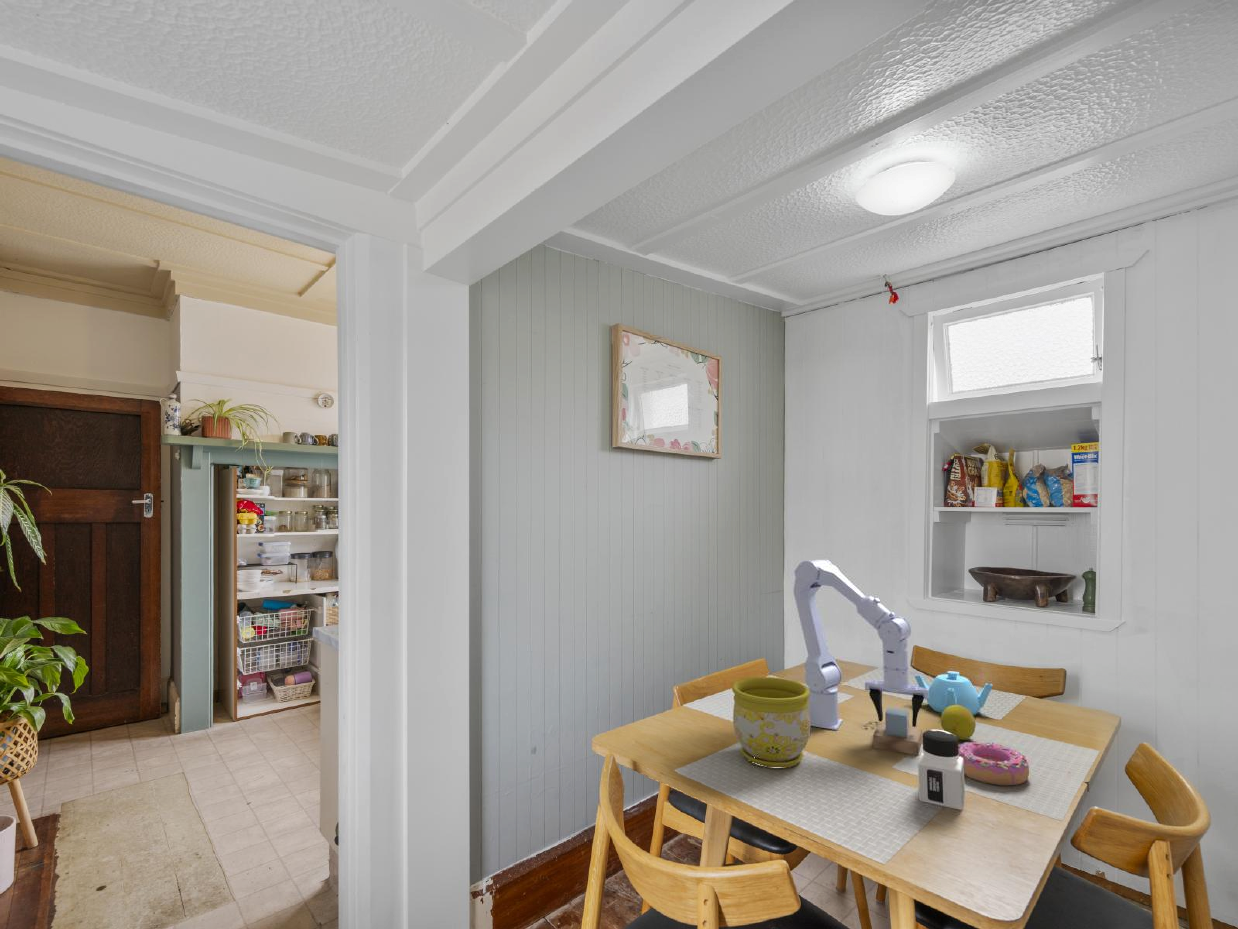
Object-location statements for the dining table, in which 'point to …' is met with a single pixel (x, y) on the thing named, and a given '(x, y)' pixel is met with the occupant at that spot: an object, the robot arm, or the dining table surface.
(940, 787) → the container
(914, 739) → the walnut block
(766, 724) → the flowerpot
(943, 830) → the dining table surface
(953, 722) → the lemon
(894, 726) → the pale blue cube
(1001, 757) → the donut
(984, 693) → the teapot
